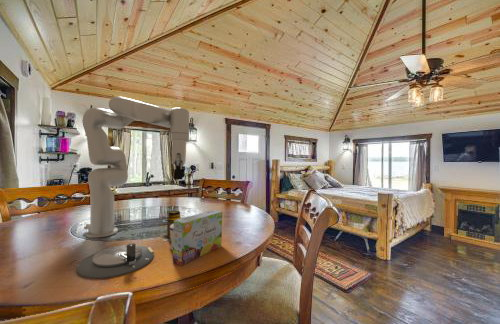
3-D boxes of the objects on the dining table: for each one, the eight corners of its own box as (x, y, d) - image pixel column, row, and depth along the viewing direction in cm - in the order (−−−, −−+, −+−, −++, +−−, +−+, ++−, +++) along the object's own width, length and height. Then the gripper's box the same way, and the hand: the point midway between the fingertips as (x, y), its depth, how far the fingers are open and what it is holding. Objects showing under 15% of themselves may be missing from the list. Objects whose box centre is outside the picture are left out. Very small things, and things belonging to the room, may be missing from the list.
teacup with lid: (173, 242, 95) (173, 216, 94) (194, 243, 95) (194, 216, 95) (162, 254, 83) (163, 224, 82) (186, 255, 83) (187, 224, 83)
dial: (85, 258, 76) (85, 240, 75) (129, 245, 88) (130, 229, 88) (107, 275, 65) (107, 253, 65) (154, 257, 77) (154, 239, 77)
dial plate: (57, 275, 67) (57, 271, 67) (112, 246, 90) (112, 243, 90) (127, 280, 65) (127, 276, 65) (165, 249, 88) (165, 246, 88)
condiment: (183, 238, 101) (183, 212, 101) (164, 241, 96) (164, 214, 96) (178, 233, 107) (179, 209, 107) (160, 236, 102) (160, 211, 102)
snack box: (182, 266, 74) (183, 222, 74) (171, 262, 77) (172, 220, 77) (222, 246, 92) (222, 210, 92) (212, 243, 95) (212, 209, 95)
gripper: (172, 139, 100) (172, 176, 100) (167, 135, 83) (167, 180, 83) (189, 140, 101) (189, 176, 101) (187, 136, 84) (187, 180, 84)
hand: (179, 178), depth 92 cm, fingers open, 9 cm apart
